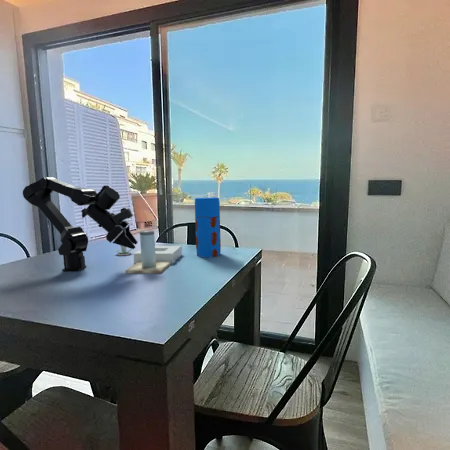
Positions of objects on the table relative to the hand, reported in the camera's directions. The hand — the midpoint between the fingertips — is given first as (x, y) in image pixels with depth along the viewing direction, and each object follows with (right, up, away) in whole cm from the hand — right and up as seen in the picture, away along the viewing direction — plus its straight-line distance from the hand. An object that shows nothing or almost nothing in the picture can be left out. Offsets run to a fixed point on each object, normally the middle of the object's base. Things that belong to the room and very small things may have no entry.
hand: (135, 245), depth 121 cm
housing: (+5, -7, +18) cm, 19 cm away
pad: (+5, -9, +2) cm, 10 cm away
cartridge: (+4, -8, +2) cm, 9 cm away
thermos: (+26, -6, +23) cm, 35 cm away
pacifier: (-13, -6, +28) cm, 32 cm away
